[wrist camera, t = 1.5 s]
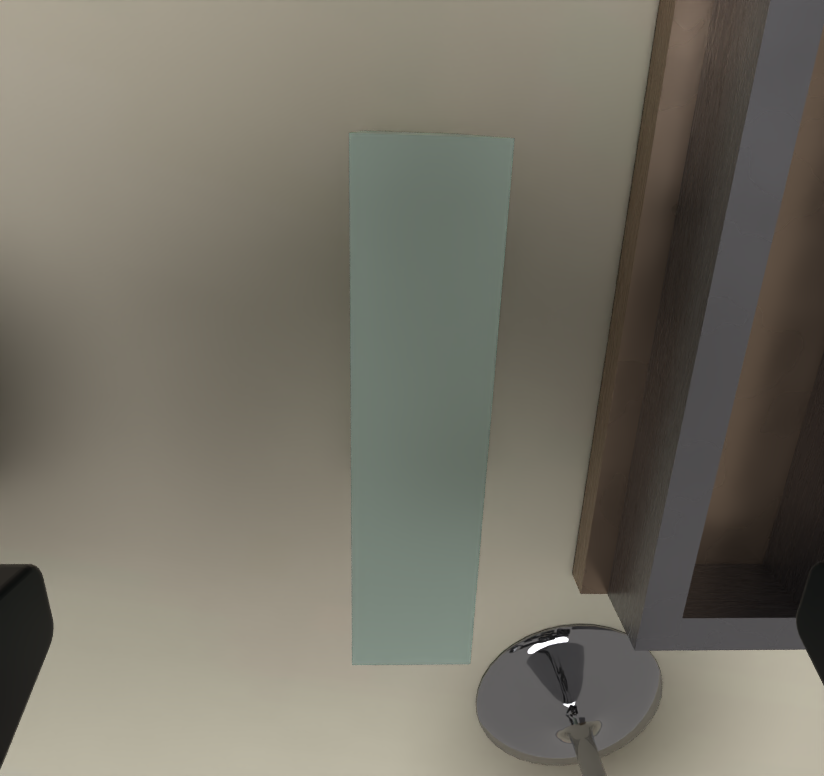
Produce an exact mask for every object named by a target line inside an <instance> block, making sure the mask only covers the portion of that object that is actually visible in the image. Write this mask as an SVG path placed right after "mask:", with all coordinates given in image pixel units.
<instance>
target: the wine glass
mask: <svg viewBox="0 0 824 776" xmlns="http://www.w3.org/2000/svg"><path fill="white" fill-rule="evenodd" d="M661 697H662V676H661V671H660V668H659V666H658V664H657V661H656V659H655V658H654V656H653V655H652V654H651V652H650V651H635V650H634V648H633V646H632V644H631V642H630V640H629V638H628V636H627V634H626V633H623V632H621V631H618V630H615V629H612V628H608V627H603V626H597V625H581V624H577V625H567V626H559V627H555V628H551V629H547V630H543V631H540V632H538V633H535V634H533V635H530V636H528V637H526V638H524V639H522V640H520V641H519V642H517V643H515V644H513V645H512V646H511V647H509V648H508V649H507V650H505V651H504V652H503V653H502V654H500V655H499V657H498V658H497V659H496V660H495V661H494V662H493V663H492V664H491V665H490V666H489V668H488V670H487V671H486V673H485V674H484V676H483V677H482V680H481V682H480V685H479V687H478V691H477V697H476V713H477V716H478V720H479V723H480V725H481V727H482V729H483V730H484V732H485V734H486V735H487V737H488V738H489V739H490V740H491V741H492V742H493V743H494V744H495V745H496V746H497V747H499V748H500V749H501V750H503V751H504V752H506V753H507V754H510V755H512V756H514V757H516V758H518V759H521V760H524V761H527V762H531V763H536V764H542V765H571V764H579V766H580V770H581V774H582V776H607V775H606V772H605V769H604V767H603V764H602V761H601V759H600V758H601V757H603V756H606V755H608V754H610V753H612V752H614V751H616V750H618V749H620V748H622V747H623V746H625V745H626V744H628V743H629V742H631V741H632V740H633V739H634V738H635V737H637V736H638V735H639V734H640V733H641V732H642V731H643V730H644V729H645V728H646V726H647V725H648V724H649V723H650V721H651V720H652V718H653V716H654V715H655V713H656V711H657V709H658V706H659V703H660V700H661Z"/></svg>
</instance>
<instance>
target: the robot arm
mask: <svg viewBox="0 0 824 776" xmlns="http://www.w3.org/2000/svg"><path fill="white" fill-rule="evenodd" d="M796 625H797V630H798V634H799V636H800V639H801V641H802V643H803V645H804V647H805V649H806V651H807V653H808V655H809V657H810V659H811V661H812V663H813V665H814V667H815V669H816V671H817V673H818V675H819V677H820V679H821V681H822V683H823V685H824V560H823V561H820V562H817V563H816V564H815V565H814V566H813V567H812V568H811V570H810V573H809V576H808V579H807V582H806V585H805V588H804V591H803V595H802V598H801V601H800V604H799V607H798V610H797V614H796ZM52 637H53V618H52V614H51V609H50V605H49V601H48V596H47V592H46V588H45V583H44V579H43V575H42V573H41V571H40V569H39V568H38V567H37V566H34V565H32V564H1V565H0V769H1V766H2V764H3V762H4V759H5V757H6V755H7V752H8V750H9V747H10V745H11V742H12V740H13V737H14V735H15V732H16V730H17V727H18V725H19V722H20V720H21V717H22V715H23V712H24V710H25V707H26V705H27V702H28V700H29V697H30V695H31V692H32V690H33V687H34V685H35V682H36V680H37V677H38V675H39V672H40V670H41V667H42V665H43V662H44V660H45V657H46V655H47V652H48V650H49V647H50V644H51V641H52Z"/></svg>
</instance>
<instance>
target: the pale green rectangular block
mask: <svg viewBox="0 0 824 776" xmlns="http://www.w3.org/2000/svg"><path fill="white" fill-rule="evenodd" d="M514 139H515V138H505V137H492V136H480V135H467V134H449V133H418V132H388V131H359V132H352V133H349V205H350V377H351V549H352V665H422V664H470V661H471V649H472V637H473V625H474V613H475V602H476V590H477V578H478V566H479V554H480V542H481V530H482V519H483V507H484V495H485V483H486V471H487V459H488V447H489V436H490V424H491V412H492V400H493V388H494V376H495V365H496V353H497V341H498V329H499V317H500V305H501V293H502V282H503V270H504V258H505V246H506V234H507V222H508V210H509V199H510V187H511V175H512V163H513V151H514Z"/></svg>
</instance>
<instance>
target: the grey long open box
mask: <svg viewBox="0 0 824 776" xmlns="http://www.w3.org/2000/svg"><path fill="white" fill-rule="evenodd" d="M823 560H824V0H660V3H659V10H658V16H657V23H656V29H655V36H654V43H653V49H652V56H651V62H650V69H649V75H648V82H647V89H646V95H645V102H644V108H643V115H642V121H641V128H640V134H639V141H638V148H637V154H636V161H635V167H634V174H633V180H632V187H631V193H630V200H629V207H628V213H627V220H626V226H625V233H624V239H623V246H622V252H621V259H620V266H619V272H618V279H617V285H616V292H615V298H614V305H613V312H612V318H611V325H610V331H609V338H608V344H607V351H606V357H605V364H604V371H603V377H602V384H601V390H600V397H599V403H598V410H597V416H596V423H595V430H594V436H593V443H592V449H591V456H590V462H589V469H588V475H587V482H586V489H585V495H584V502H583V508H582V515H581V521H580V528H579V535H578V541H577V548H576V554H575V561H574V567H573V577H574V579H575V581H576V584H577V586H578V589H579V591H580V593H581V594H608V596H609V598H610V600H611V602H612V604H613V606H614V608H615V611H616V613H617V615H618V617H619V619H620V621H621V623H622V625H623V627H624V629H625V631H626V633H627V636H628V638H629V640H630V642H631V644H632V646H633V648H634V650H635V651H659V650H797V649H805V647H804V645H803V643H802V641H801V639H800V636H799V634H798V630H797V625H796V614H797V610H798V607H799V604H800V601H801V598H802V595H803V591H804V588H805V585H806V582H807V579H808V576H809V573H810V570H811V568H812V567H813V566H814V565H815V564H816V563H817V562H820V561H823Z"/></svg>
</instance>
